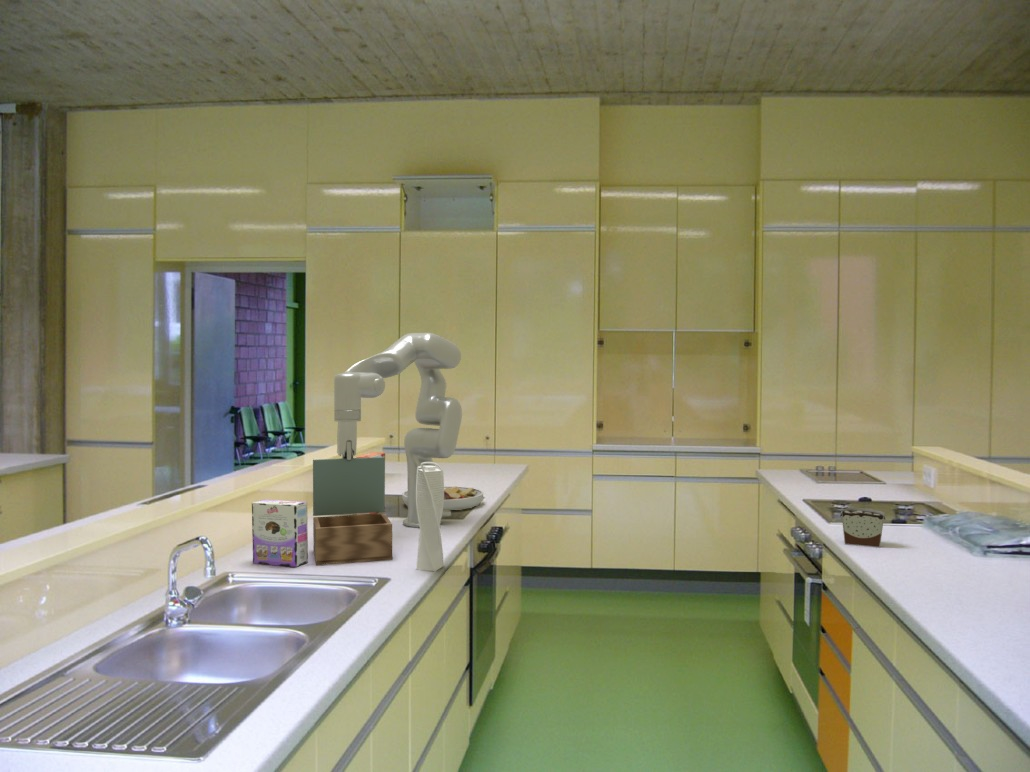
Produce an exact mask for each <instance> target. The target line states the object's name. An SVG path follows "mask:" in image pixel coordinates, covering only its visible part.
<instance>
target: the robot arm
mask: <svg viewBox="0 0 1030 772" xmlns="http://www.w3.org/2000/svg"><path fill="white" fill-rule="evenodd" d="M461 360H462V353H461V350H460V348H459V346H458V345H457V344H456V343H454V342H452V341H450V340H449V339H446V338H445V337H443V336H441V335H438V334H436V333H433V332H408V333H406V334H404V335H402V336H401V337H400V338H398V339H397V340H396V341H395V342H393V343H392V344H391V345H390V346H388V347H387V348H386V349H385V350H384V351H382V352H379V353H376V354H374V355H371V356H370V357H367V358H365V359H363V360H360V361H358V362H356V363H354V364H353V365H352V366H349V368H347V369H346V370H345V371H344V372H342V373H337V374H336V375H335V376H334V377H333V378H334V379H333V382H334V383H333V384H334V385H333V389H334V391H333V393H334V395H333V396H334V397H333V400H334V401H333V402H334V403H333V408H334V409H333V416H334V417H333V419H334V420H333V421H334V422H337V428H336V429H337V430H336V431H337V433H336V434H337V436H336V437H337V438H336V439H337V440H336V441H337V442H336V446H337V448H336V454H337V455H338V456H339V457H341V459H344V458H347V461H351V458H354V456H356V455H357V445H358V444H357V440H358V438H357V437H358V435H357V434H358V422H362V398H363V399H373V398H374V399H375V398H377V397H379V396H381V395H382V394H383V393H384V391H385V388H386V382H385V379H387V378H391V377H395V376H397V375H400V374H401V373H402V372H403V371H405V370H406V369H407V368H408V367H409V366H410V365H411V364H412V363H414V365H415V366H416V368H417V371H418V373H419V376H420V380H421V381H420V382H421V383H420V388H419V393H418V394H419V395H418V397H417V403H416V406H415V407H416V408H415V415H414V416H415V420H416V421H417V422H418V423H419V424H421V425H424V426H436V427H439V428H433V427H431V428H430V427H415V428H412V429H410V430H408V431H407V432H406V433H405V436H404V439H403V441H404V442H403V446H404V450H405V456H406V466H407V469H406V470H407V491H408V506H407V518H404V519H403V520H402V524H403V526H406V527H412V528H420V527H419V522H418V516H417V508H416V476H417V467H419V466H421V463H423V462H434V460H433V459H448V458H450V457H452V455H454V453H455V450H456V448H457V444H458V439H459V433H460V428H461V423H462V418H463V408H462V406H461V405H462V404H461V403H460V402H459V400H458V399H456V398H454V397H449V396H447V397H446V393H447V392H446V391H447V383H446V379H445V376H444V375H443V373H442V371H441V370H443V369H444V370H448V369H449V370H451V369H455V368H456V367H458V366H459V364H460V362H461ZM425 465H431V466H436V465H434V464H423V466H425ZM419 469H422V468H419ZM424 469H425V467H424ZM451 517H452V511H443V512H442V517H441V519H442V518H451ZM440 523H441V524H442V521H441V522H440Z"/></svg>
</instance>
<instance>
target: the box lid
mask: <svg viewBox="0 0 1030 772" xmlns="http://www.w3.org/2000/svg"><path fill="white" fill-rule="evenodd" d="M385 497H386V456H385V457H373V458H356V457H353V458H351V461H347V458H344V459H342V458H323V459H321V458H320V459H312V509H313V510H312V516H313V517H319V516H337V515H355V514H356V513H372V512H378V513H385V509H384V507H386V503H385V502H386V499H385Z"/></svg>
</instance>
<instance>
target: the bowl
mask: <svg viewBox="0 0 1030 772" xmlns="http://www.w3.org/2000/svg"><path fill="white" fill-rule="evenodd" d="M401 496H402V501H403V503H404V504H405V505H406V506H407V507H408V490H406V491H404V492H403V493H402V495H401ZM483 499H484V492H483V490H480V489H478V488H474V487H465V486H444V504H443V510H454V509H464V508H470V507H474V506H476V507H478V506H479V505H480V504H481V503H482V501H483ZM474 508H475V507H474Z"/></svg>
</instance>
